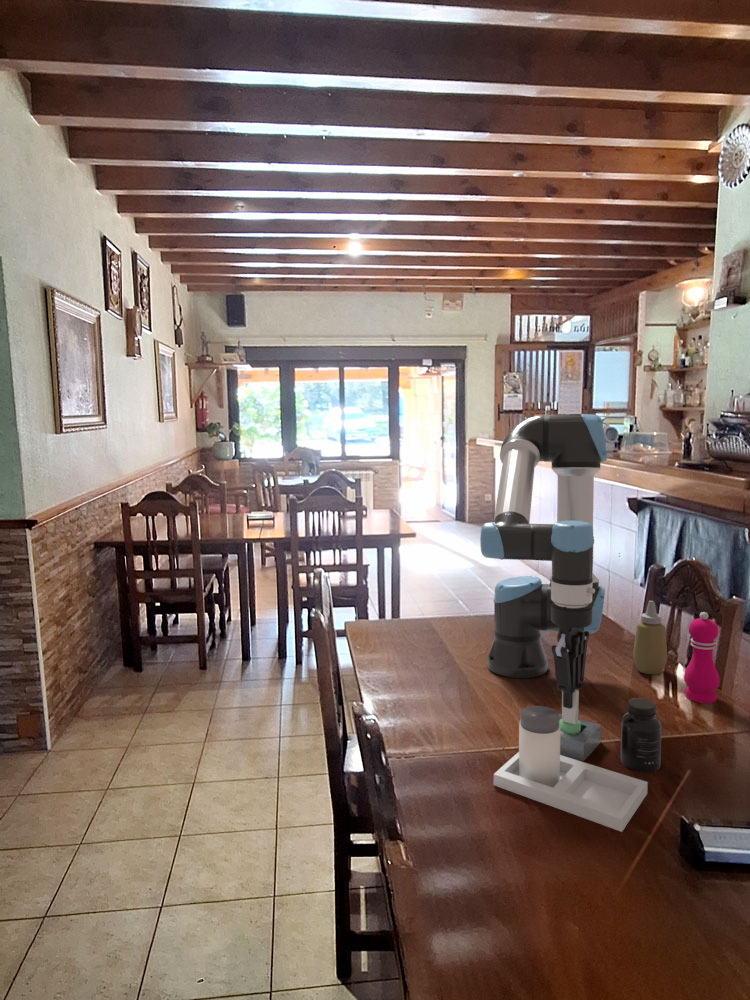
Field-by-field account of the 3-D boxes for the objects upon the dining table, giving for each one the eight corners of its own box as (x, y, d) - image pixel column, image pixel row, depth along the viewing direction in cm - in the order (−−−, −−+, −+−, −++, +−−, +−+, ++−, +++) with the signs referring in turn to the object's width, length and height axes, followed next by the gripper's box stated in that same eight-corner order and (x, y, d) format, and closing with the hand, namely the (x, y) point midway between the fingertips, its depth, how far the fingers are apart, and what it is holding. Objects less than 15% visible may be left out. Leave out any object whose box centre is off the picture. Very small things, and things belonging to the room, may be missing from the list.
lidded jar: (512, 781, 115) (512, 715, 114) (529, 764, 121) (529, 702, 119) (549, 794, 111) (550, 726, 110) (566, 776, 116) (567, 711, 115)
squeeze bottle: (665, 666, 168) (667, 598, 166) (668, 678, 160) (670, 606, 158) (631, 663, 170) (633, 596, 168) (633, 675, 163) (634, 604, 161)
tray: (493, 787, 114) (493, 774, 114) (526, 757, 124) (526, 744, 124) (621, 834, 101) (622, 819, 100) (647, 796, 111) (647, 782, 110)
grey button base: (538, 749, 127) (538, 729, 127) (557, 731, 134) (557, 713, 134) (583, 763, 122) (583, 743, 121) (600, 744, 129) (601, 725, 128)
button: (555, 739, 127) (556, 723, 127) (564, 731, 130) (564, 715, 130) (575, 745, 125) (576, 729, 125) (583, 736, 128) (584, 721, 128)
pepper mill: (723, 705, 145) (726, 617, 142) (687, 703, 146) (691, 616, 144) (713, 692, 152) (716, 608, 149) (679, 690, 153) (682, 607, 151)
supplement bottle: (613, 757, 124) (615, 696, 122) (648, 754, 124) (650, 694, 123) (631, 776, 117) (632, 712, 116) (667, 774, 117) (669, 710, 116)
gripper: (577, 614, 117) (575, 739, 120) (603, 598, 127) (601, 714, 130) (538, 607, 122) (537, 728, 124) (566, 592, 132) (564, 705, 135)
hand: (570, 721), depth 127 cm, fingers closed
